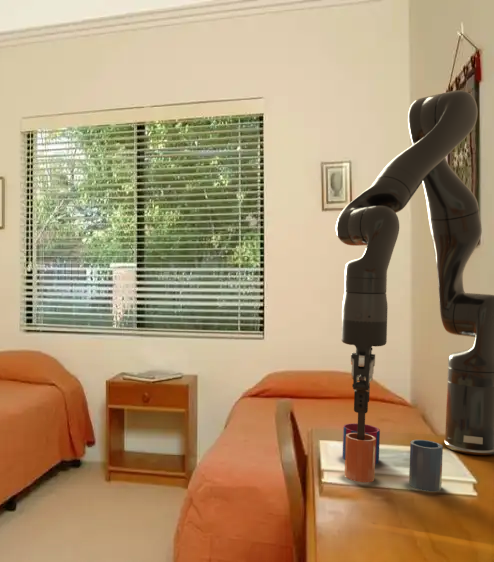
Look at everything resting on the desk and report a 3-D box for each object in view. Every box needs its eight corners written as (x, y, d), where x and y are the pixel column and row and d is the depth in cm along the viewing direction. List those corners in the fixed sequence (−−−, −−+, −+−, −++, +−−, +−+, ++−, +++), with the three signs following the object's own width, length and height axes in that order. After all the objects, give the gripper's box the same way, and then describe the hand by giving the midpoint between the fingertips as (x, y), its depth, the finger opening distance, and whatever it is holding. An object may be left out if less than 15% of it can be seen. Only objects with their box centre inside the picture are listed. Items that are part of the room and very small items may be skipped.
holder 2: (423, 482, 108) (425, 438, 107) (447, 492, 103) (449, 446, 103) (402, 485, 106) (403, 441, 106) (425, 496, 101) (427, 449, 101)
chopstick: (356, 475, 109) (358, 404, 108) (363, 476, 108) (365, 405, 108) (355, 477, 108) (358, 406, 107) (363, 478, 107) (365, 407, 107)
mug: (381, 460, 119) (382, 427, 119) (371, 475, 111) (372, 439, 110) (346, 454, 123) (347, 421, 122) (334, 467, 114) (335, 432, 114)
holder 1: (360, 474, 111) (361, 431, 111) (380, 483, 107) (382, 439, 106) (338, 477, 110) (339, 434, 109) (358, 486, 105) (359, 442, 105)
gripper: (387, 322, 99) (384, 419, 100) (387, 315, 112) (384, 400, 113) (338, 320, 102) (336, 414, 103) (344, 313, 115) (342, 396, 116)
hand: (361, 407), depth 108 cm, fingers open, 8 cm apart
